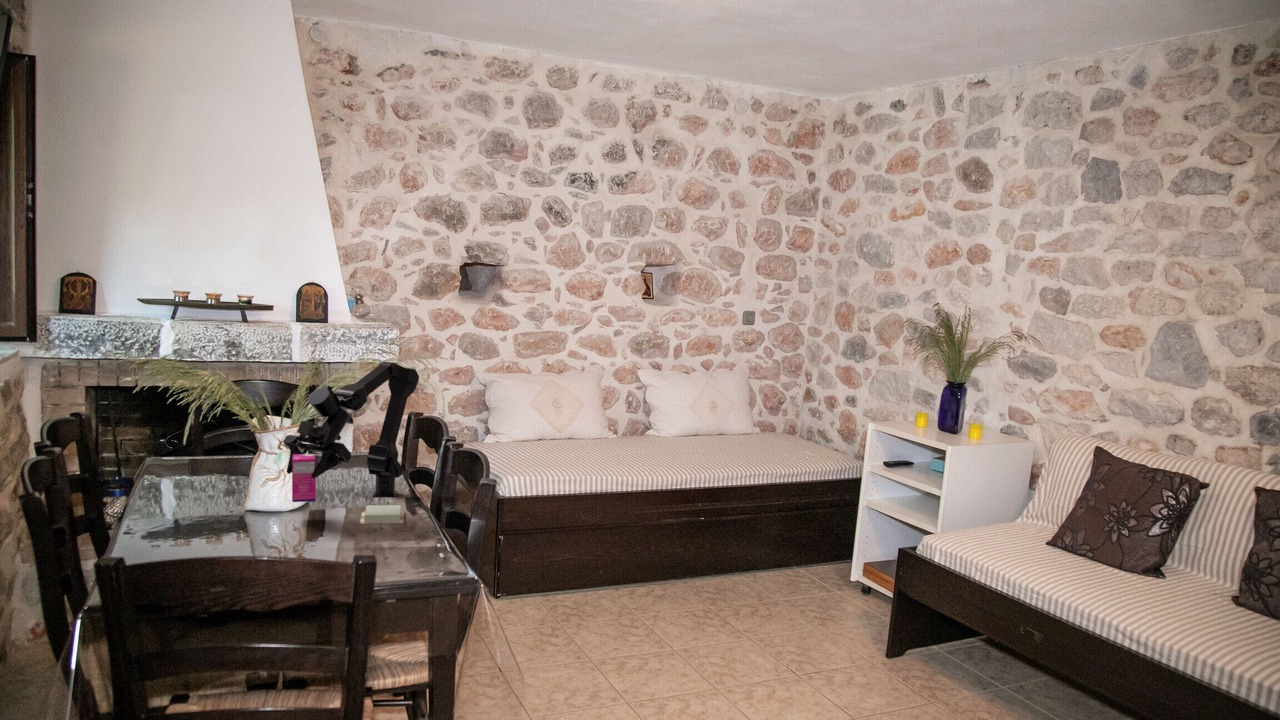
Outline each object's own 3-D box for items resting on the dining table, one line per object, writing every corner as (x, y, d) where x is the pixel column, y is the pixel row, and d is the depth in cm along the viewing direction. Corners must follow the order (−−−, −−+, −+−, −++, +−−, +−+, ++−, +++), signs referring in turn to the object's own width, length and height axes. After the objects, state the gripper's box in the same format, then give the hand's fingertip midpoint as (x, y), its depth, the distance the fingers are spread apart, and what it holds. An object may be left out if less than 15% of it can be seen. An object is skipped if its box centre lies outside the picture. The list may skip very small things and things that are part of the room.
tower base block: (361, 518, 228) (362, 511, 228) (403, 518, 231) (403, 511, 231) (359, 531, 217) (359, 523, 217) (403, 530, 220) (403, 523, 220)
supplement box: (291, 496, 219) (292, 453, 218) (315, 495, 221) (317, 453, 220) (291, 502, 214) (292, 458, 213) (315, 501, 216) (316, 458, 215)
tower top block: (366, 512, 227) (366, 505, 227) (400, 512, 229) (400, 505, 229) (364, 522, 218) (364, 515, 218) (399, 522, 221) (400, 514, 221)
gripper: (288, 405, 222) (255, 452, 213) (345, 413, 216) (313, 463, 207) (309, 429, 230) (278, 476, 221) (364, 438, 224) (334, 487, 215)
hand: (300, 475), depth 216 cm, fingers closed on supplement box, 8 cm apart
